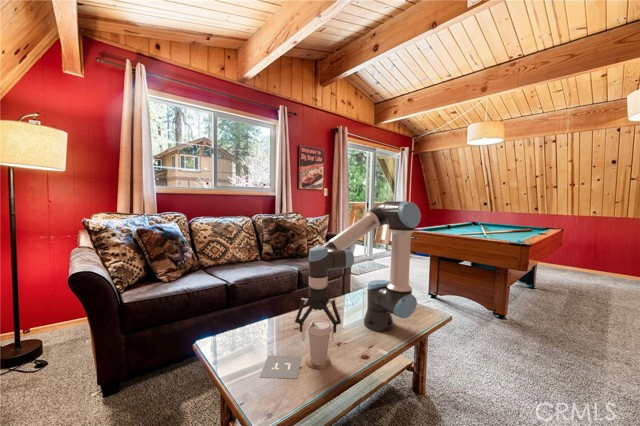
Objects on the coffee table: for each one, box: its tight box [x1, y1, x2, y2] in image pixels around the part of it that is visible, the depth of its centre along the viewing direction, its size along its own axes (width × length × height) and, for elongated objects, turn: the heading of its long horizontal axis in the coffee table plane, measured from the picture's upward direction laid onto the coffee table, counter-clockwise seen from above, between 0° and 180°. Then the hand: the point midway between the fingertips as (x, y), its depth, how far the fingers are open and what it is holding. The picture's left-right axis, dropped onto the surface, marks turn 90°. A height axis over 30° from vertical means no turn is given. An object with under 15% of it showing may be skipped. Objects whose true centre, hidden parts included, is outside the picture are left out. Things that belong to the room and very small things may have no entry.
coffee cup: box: [307, 319, 332, 365], centre depth 110 cm, size 10×10×15 cm
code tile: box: [259, 354, 302, 380], centre depth 107 cm, size 14×14×1 cm
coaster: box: [305, 354, 331, 370], centre depth 110 cm, size 10×10×1 cm
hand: (317, 339), depth 110 cm, fingers open, 11 cm apart
